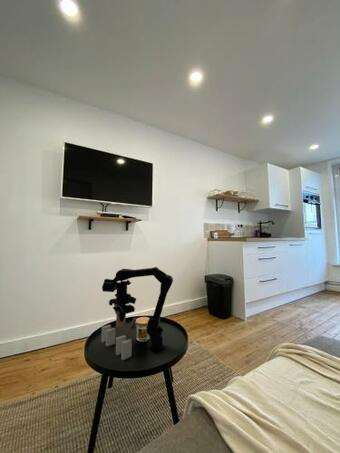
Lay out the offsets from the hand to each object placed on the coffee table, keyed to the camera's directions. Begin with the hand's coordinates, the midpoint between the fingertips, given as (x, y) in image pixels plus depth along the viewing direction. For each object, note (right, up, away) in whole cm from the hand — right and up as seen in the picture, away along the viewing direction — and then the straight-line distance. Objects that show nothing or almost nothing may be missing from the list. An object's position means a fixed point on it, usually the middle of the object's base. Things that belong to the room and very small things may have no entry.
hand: (120, 321), depth 112 cm
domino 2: (-6, -13, +1) cm, 15 cm away
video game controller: (+6, -15, +22) cm, 27 cm away
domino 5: (+5, -13, -11) cm, 18 cm away
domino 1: (-10, -13, +5) cm, 17 cm away
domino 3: (0, -2, 0) cm, 2 cm away
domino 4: (+2, -13, -7) cm, 15 cm away
